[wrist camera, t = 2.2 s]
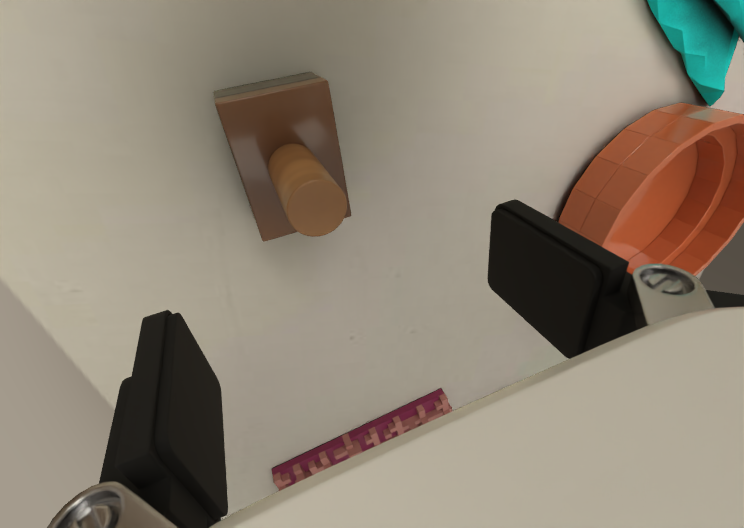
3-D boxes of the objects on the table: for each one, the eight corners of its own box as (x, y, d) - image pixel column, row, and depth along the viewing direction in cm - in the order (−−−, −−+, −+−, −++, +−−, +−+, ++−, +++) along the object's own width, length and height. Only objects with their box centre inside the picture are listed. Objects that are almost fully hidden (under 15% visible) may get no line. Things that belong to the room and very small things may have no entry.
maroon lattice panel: (451, 421, 44) (460, 436, 42) (295, 498, 41) (298, 518, 39) (446, 385, 40) (456, 400, 38) (271, 468, 36) (274, 489, 35)
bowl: (569, 129, 27) (630, 148, 24) (738, 82, 31) (814, 92, 27) (536, 303, 38) (575, 337, 34) (667, 252, 41) (716, 277, 38)
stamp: (212, 91, 18) (219, 133, 12) (311, 71, 19) (366, 100, 13) (256, 216, 22) (278, 298, 16) (335, 194, 24) (386, 262, 17)
